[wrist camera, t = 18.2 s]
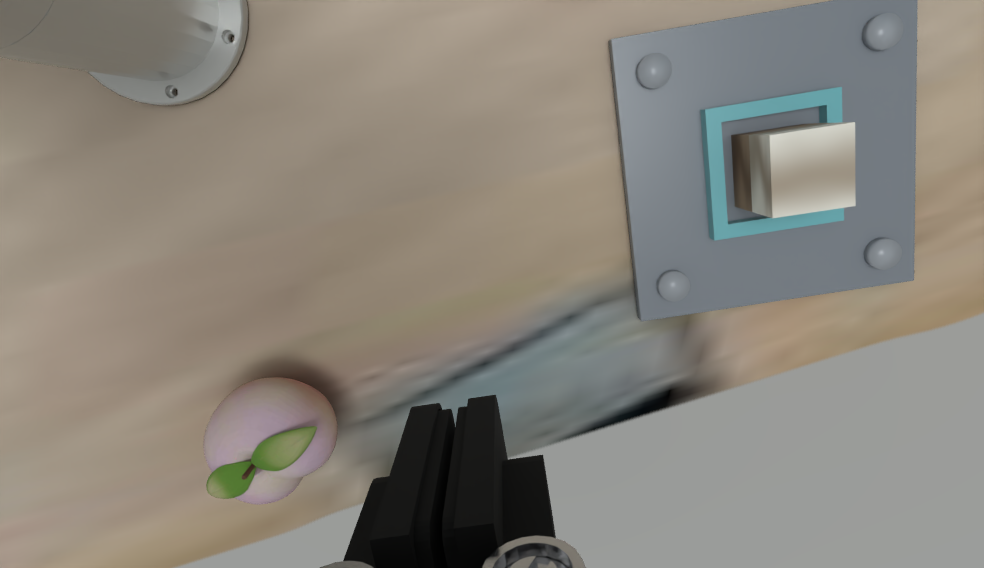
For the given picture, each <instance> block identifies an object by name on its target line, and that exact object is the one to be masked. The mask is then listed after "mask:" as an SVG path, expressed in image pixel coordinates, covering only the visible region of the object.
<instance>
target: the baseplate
mask: <svg viewBox="0 0 984 568" xmlns="http://www.w3.org/2000/svg"><path fill="white" fill-rule="evenodd" d="M609 50H610V60H611V69H612V78H613V88H614V97H615V106H616V116H617V125H618V134H619V144H620V153H621V162H622V172H623V181H624V190H625V200H626V209H627V219H628V228H629V237H630V247H631V256H632V265H633V275H634V284H635V293H636V303H637V312H638V318H639V319H640V321H647V320H653V319H660V318H667V317H673V316H680V315H687V314H693V313H700V312H707V311H713V310H720V309H727V308H733V307H740V306H747V305H753V304H760V303H767V302H773V301H780V300H786V299H793V298H800V297H806V296H813V295H820V294H826V293H833V292H840V291H846V290H853V289H860V288H866V287H873V286H880V285H886V284H893V283H900V282H906V281H913V280H914V236H915V154H916V73H917V0H833V1H828V2H822V3H816V4H810V5H805V6H799V7H793V8H787V9H782V10H776V11H770V12H764V13H759V14H753V15H747V16H741V17H736V18H730V19H724V20H718V21H713V22H707V23H701V24H695V25H690V26H684V27H678V28H672V29H667V30H661V31H655V32H649V33H644V34H638V35H632V36H626V37H621V38H615V39H611V40H610V41H609ZM840 122H855V200H856V206H852V207H845V208H839V209H832V210H825V211H818V212H812V213H805V214H798V215H792V216H785V217H778V218H770V217H767V216H764V215H760V214H757V213H754V212H751V211H747V210H744V209H741V208H738V207H735V201H734V182H733V164H732V145H731V135H735V134H741V133H748V132H754V131H761V130H767V129H773V128H780V127H786V126H793V125H799V124H810V123H840Z"/></svg>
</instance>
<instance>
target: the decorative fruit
mask: <svg viewBox="0 0 984 568" xmlns="http://www.w3.org/2000/svg"><path fill="white" fill-rule="evenodd" d="M336 439H337V420H336V416H335V413H334V411H333V408H332V406H331V405H330V403H329V401H328V400H327V399H326V397H325V396H324V395H323V394H322V393H320V392H319V391H318V390H316V389H315V388H313V387H311V386H309V385H307V384H305V383H303V382H300V381H297V380H294V379H289V378H280V377H271V378H261V379H257V380H253V381H250V382H248V383H246V384H244V385H242V386H240V387H238V388H237V389H235V390H234V391H233V392H231V393H230V394H229V395H228V396H227V397H226V398H225V399H224V400H223V401H222V402H221V403H220V404H219V406H218V407H217V408H216V410H215V411H214V413H213V415H212V417H211V418H210V421H209V423H208V425H207V428H206V431H205V436H204V455H205V458H206V461H207V463H208V466H209V468H210V470H211V472H212V474H211V475H210V476H209V478H208V480H207V491H208V493H209V494H210V495H211V496H214V497H216V498H222V499H229V498H236V499H238V500H241V501H243V502H246V503H251V504H267V503H272V502H275V501H278V500H280V499H282V498H284V497H286V496H288V495H289V494H290V493H291V492H293V491H294V490H295V488H296V487H297V486H298V485H299V483H300V481H301V480H302V478H303V476H305V475H308V474H310V473H312V472H313V471H315V470H317V469H318V468H320V467H321V466H322V465H323V464H324V463H325V462H326V461H327V460H328V459H329V457H330V456H331V454H332V452H333V450H334V447H335V444H336Z"/></svg>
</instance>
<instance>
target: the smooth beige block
mask: <svg viewBox="0 0 984 568" xmlns="http://www.w3.org/2000/svg"><path fill="white" fill-rule="evenodd" d="M731 145H732V164H733V182H734V201H735V207H738V208H741V209H744V210H747V211H751V212H754V213H757V214H760V215H764V216H767V217H770V218H778V217H785V216H792V215H798V214H805V213H812V212H818V211H825V210H832V209H839V208H845V207H852V206H856V200H855V122H840V123H810V124H799V125H793V126H786V127H780V128H773V129H767V130H761V131H754V132H748V133H741V134H735V135H731Z"/></svg>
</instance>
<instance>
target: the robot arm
mask: <svg viewBox="0 0 984 568" xmlns="http://www.w3.org/2000/svg"><path fill="white" fill-rule="evenodd" d="M247 31H248V8H247V1H246V0H0V58H5V59H12V60H18V61H25V62H31V63H38V64H44V65H51V66H57V67H64V68H71V69H77V70H84V71H87V72H88V73H89V74H90V75H91V76H93V77H94V78H95V79H96V80H97V81H98V82H100V83H101V84H102V85H103V86H105V87H107V88H108V89H110V90H112V91H113V92H115V93H117V94H118V95H120V96H123V97H126V98H128V99H131V100H134V101H136V102H141V103H147V104H153V105H168V106H170V105H178V104H186V103H189V102H192V101H195V100H198V99H200V98H203V97H204V96H206V95H207V94H209V93H211V92H212V91H214V90H216V89H217V88H218V87H219V86H220V85H221V84H222V83H223V82H224V81H225V80H226V79H227V78H228V77H229V75H230V74H231V72H232V71H233V69H234V68H235V66H236V65H237V63H238V61H239V58H240V56H241V54H242V51H243V49H244V45H245V40H246V35H247ZM232 35H234V37H235V40H234V41H233V43H232V42H231V36H232ZM176 89H177V90H178V95H176V94H175V91H176ZM320 568H586V567H585V564H584V562H583V560H582V558H581V556H580V555H579V553H578V552H577V551H576V549H575V548H573V547H572V546H571V545H569V544H568V543H566V542H565V541H562V540H559V539H556V537H555V530H554V524H553V516H552V510H551V504H550V497H549V490H548V484H547V478H546V471H545V466H544V459H543V455H538V456H531V457H523V458H516V459H509V460H508V459H507V453H506V448H505V442H504V436H503V430H502V425H501V419H500V413H499V407H498V402H497V398H496V395H491V396H484V397H477V398H470V399H468V404H467V406H466V407H459V408H458V414H457V421H456V428H455V423H454V418H453V413H452V410H451V409H446V410H442V408H441V405H440V403H436V404H429V405H422V406H415V407H412V408H411V410H410V413H409V416H408V419H407V422H406V425H405V428H404V432H403V435H402V438H401V441H400V444H399V447H398V451H397V454H396V457H395V460H394V463H393V466H392V469H391V473H390V476H388V477H381V478H376V479H374V480H373V481H372V483H371V486H370V488H369V491H368V494H367V497H366V499H365V502H364V505H363V508H362V511H361V513H360V516H359V519H358V522H357V524H356V527H355V530H354V533H353V535H352V538H351V541H350V544H349V547H348V549H347V552H346V555H345V558H344V560H343V562H335V563H332V564H329V565H326V566H323V567H320Z"/></svg>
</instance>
